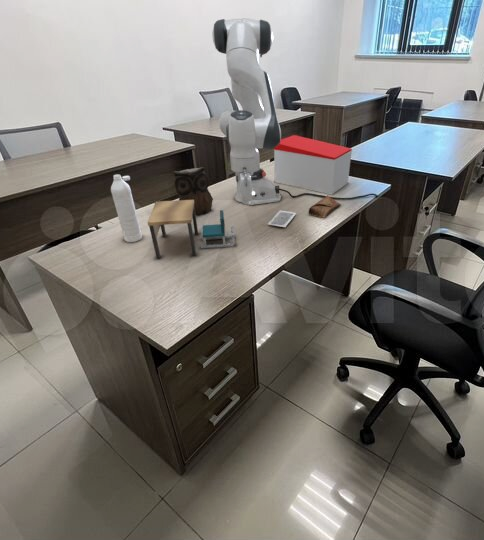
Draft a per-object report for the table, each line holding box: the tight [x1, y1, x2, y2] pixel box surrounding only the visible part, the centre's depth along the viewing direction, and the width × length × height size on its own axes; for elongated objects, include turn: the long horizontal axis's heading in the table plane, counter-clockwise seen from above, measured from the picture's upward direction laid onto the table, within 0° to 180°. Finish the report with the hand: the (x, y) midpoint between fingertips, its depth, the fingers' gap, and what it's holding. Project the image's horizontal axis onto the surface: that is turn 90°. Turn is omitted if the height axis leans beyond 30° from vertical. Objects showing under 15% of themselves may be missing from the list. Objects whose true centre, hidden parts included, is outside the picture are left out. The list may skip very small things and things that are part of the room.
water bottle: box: [110, 173, 143, 243], centre depth 126 cm, size 9×6×25 cm
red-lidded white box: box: [273, 134, 353, 195], centre depth 182 cm, size 21×35×21 cm, turn 58°
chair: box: [200, 209, 236, 249], centre depth 127 cm, size 12×8×12 cm, turn 99°
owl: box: [173, 166, 214, 217], centre depth 148 cm, size 13×13×20 cm
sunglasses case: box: [308, 194, 342, 219], centre depth 156 cm, size 18×7×7 cm
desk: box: [147, 199, 199, 260], centre depth 125 cm, size 14×18×14 cm
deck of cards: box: [267, 210, 297, 228], centre depth 146 cm, size 8×15×2 cm, turn 160°
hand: (245, 202), depth 123 cm, fingers closed
